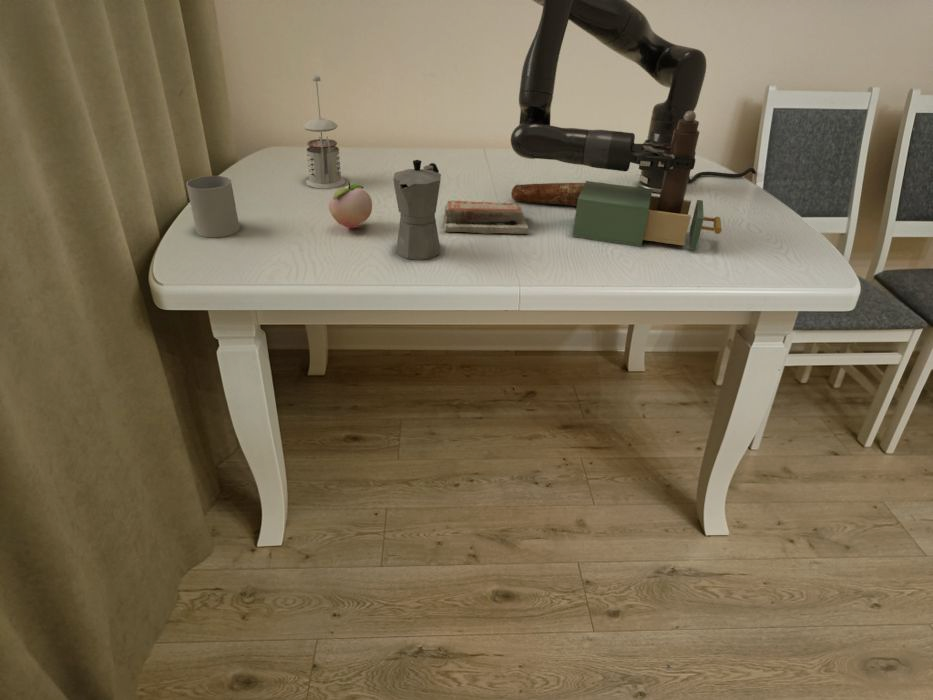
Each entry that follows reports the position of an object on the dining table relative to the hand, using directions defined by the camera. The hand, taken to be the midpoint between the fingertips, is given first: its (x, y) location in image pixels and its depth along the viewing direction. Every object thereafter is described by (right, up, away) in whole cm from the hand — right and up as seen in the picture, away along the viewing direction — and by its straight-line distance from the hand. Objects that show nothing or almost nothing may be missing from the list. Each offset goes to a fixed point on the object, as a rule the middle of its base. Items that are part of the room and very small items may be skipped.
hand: (694, 159), depth 123 cm
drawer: (-1, -13, +9) cm, 16 cm away
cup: (-97, -13, +6) cm, 98 cm away
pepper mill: (-3, -10, +8) cm, 13 cm away
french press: (-81, +4, +33) cm, 87 cm away
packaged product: (-41, -11, +13) cm, 44 cm away
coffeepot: (-55, -18, +1) cm, 57 cm away
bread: (-25, -3, +26) cm, 36 cm away
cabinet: (-14, -12, +13) cm, 22 cm away
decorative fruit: (-69, -12, +9) cm, 71 cm away
